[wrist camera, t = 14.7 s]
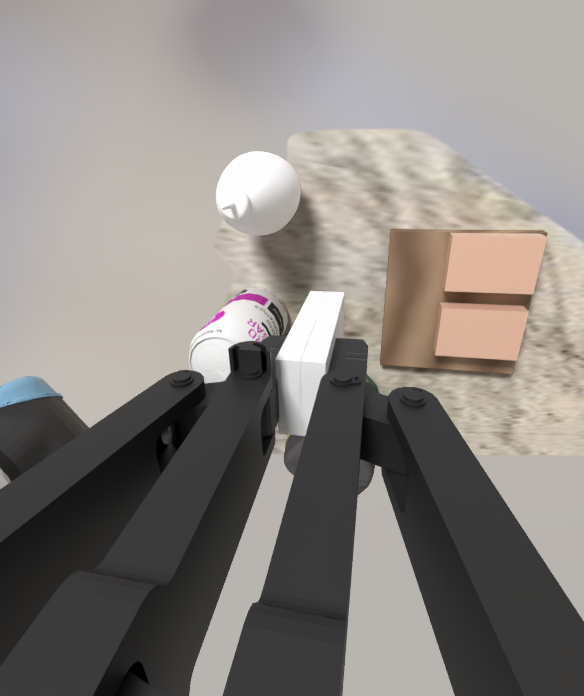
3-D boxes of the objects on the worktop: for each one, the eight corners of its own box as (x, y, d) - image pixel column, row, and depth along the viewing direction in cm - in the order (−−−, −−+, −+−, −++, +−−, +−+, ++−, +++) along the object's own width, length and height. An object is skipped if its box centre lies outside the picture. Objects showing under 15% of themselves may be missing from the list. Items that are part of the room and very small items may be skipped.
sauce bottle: (235, 205, 49) (164, 232, 33) (257, 139, 45) (189, 133, 29) (292, 234, 49) (249, 274, 33) (319, 170, 45) (285, 181, 29)
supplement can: (220, 318, 56) (170, 370, 43) (251, 273, 52) (207, 315, 39) (266, 352, 57) (231, 414, 44) (300, 311, 53) (273, 364, 40)
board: (380, 359, 54) (380, 364, 52) (390, 229, 46) (390, 231, 45) (509, 368, 51) (512, 373, 49) (542, 230, 43) (547, 233, 42)
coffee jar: (388, 386, 55) (390, 484, 39) (350, 419, 59) (338, 522, 43) (334, 343, 54) (313, 426, 38) (299, 380, 58) (266, 470, 42)
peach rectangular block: (435, 355, 48) (516, 360, 46) (442, 308, 45) (528, 312, 44) (433, 347, 50) (511, 351, 48) (439, 301, 47) (522, 304, 46)
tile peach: (444, 291, 44) (533, 294, 43) (452, 236, 42) (547, 237, 40) (441, 285, 46) (526, 287, 45) (449, 232, 44) (539, 233, 42)
